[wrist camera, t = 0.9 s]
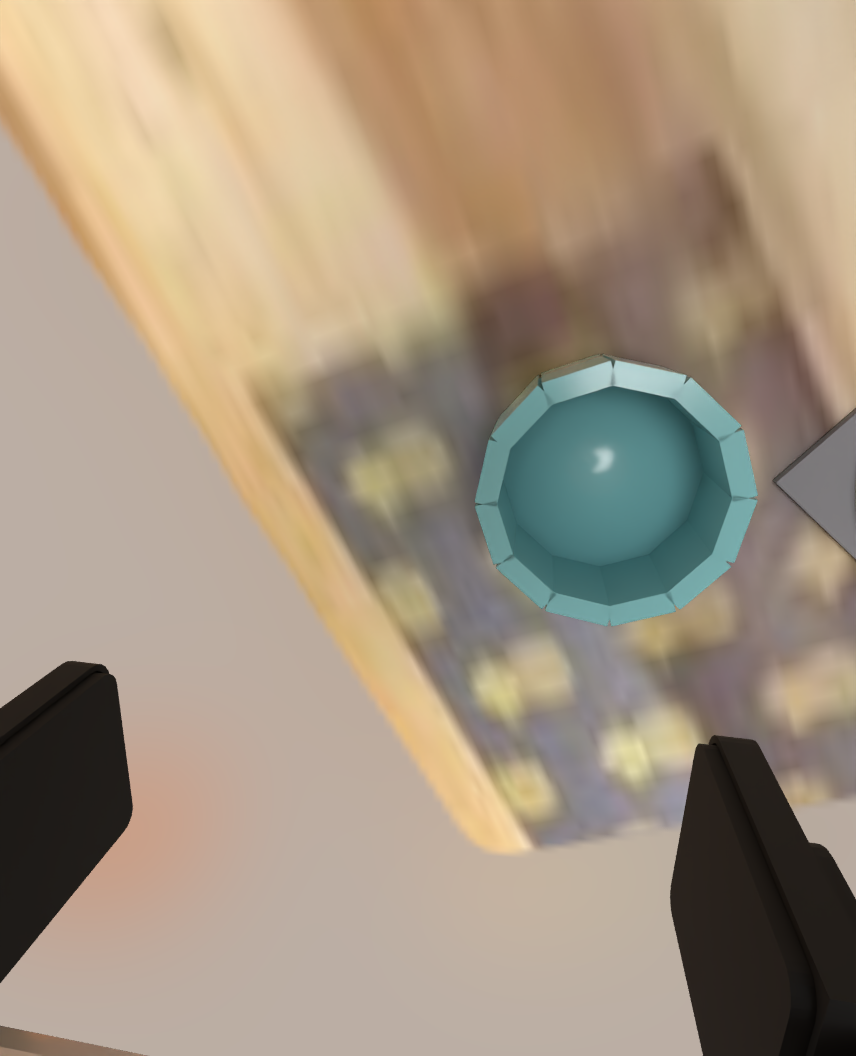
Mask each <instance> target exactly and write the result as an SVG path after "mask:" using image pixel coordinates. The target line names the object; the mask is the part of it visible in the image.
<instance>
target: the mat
mask: <svg viewBox="0 0 856 1056" xmlns="http://www.w3.org/2000/svg"><path fill="white" fill-rule="evenodd" d="M773 481H774V482H775V483H776V484H777V485H778V486H779V487H780V488H781V489H782V490H783V491H784V492H785V493H786V494H787V495H788V496H790V497H791V498H792V499H793V500H794V501H795V502H796V503H797V504H798V505H799V506H800V507H801V508H802V509H803V510H804V511H805V512H806V513H807V514H808V515H809V516H810V517H811V518H813V519H814V520H815V521H816V522H817V523H818V524H819V525H820V526H821V527H822V528H823V529H824V530H825V531H826V532H827V533H828V534H829V535H830V536H831V537H832V538H833V539H834V540H836V541H837V542H838V543H839V544H840V545H841V546H842V547H843V548H844V549H845V550H846V551H847V552H848V553H849V554H850V555H851V556H852V557H853V558H854V559H855V560H856V505H855V487H856V409H855V410H853V411H852V412H851V413H850V414H849V415H848V416H847V417H845V418H844V419H843V420H842V421H841V422H840V423H838V424H837V425H836V426H835V427H834V428H833V429H832V430H830V431H829V432H828V433H827V434H826V435H825V436H823V437H822V438H821V439H820V440H819V441H818V442H817V443H815V444H814V445H813V446H812V447H811V448H810V449H808V450H807V451H806V452H805V453H804V454H803V455H802V456H800V457H799V458H798V459H797V460H796V461H795V462H793V463H792V464H791V465H790V466H789V467H788V468H787V469H785V470H784V471H783V472H782V473H781V474H780V475H778V476H777V477H776V478H775V479H774V480H773Z"/></svg>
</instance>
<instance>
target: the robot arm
mask: <svg viewBox="0 0 856 1056" xmlns="http://www.w3.org/2000/svg"><path fill="white" fill-rule="evenodd" d="M132 810H133V805H132V796H131V789H130V781H129V773H128V766H127V758H126V750H125V743H124V735H123V727H122V720H121V712H120V704H119V696H118V689H117V682H116V679H115V677H114V676H113V675H111V674H109V671H108V670H107V668H106V667H105V666H103V665H102V664H93V663H85V662H76V661H67V662H65V663H63V664H61V665H60V666H59V667H57V668H56V669H55V670H53V671H52V672H50V673H49V674H47V675H46V676H45V677H43V678H42V679H40V680H39V681H38V682H36V683H35V684H34V685H32V686H31V687H29V688H28V689H27V690H25V691H24V692H22V693H21V694H20V695H18V696H17V697H15V698H14V699H13V700H11V701H10V702H9V703H7V704H6V705H4V706H3V707H2V708H0V983H1V982H2V980H3V979H4V978H5V977H6V976H7V974H8V973H9V972H10V971H11V969H12V968H13V967H14V966H15V965H16V963H17V962H18V961H19V960H20V958H21V957H22V956H23V955H24V953H25V952H26V951H27V950H28V949H29V947H30V946H31V945H32V943H33V942H34V941H35V940H36V939H37V938H38V936H39V935H40V934H41V933H42V931H43V930H44V929H45V928H46V926H47V925H48V924H49V922H51V920H52V919H53V918H54V917H55V915H56V914H57V913H58V912H59V911H60V909H61V908H62V907H63V906H64V904H65V903H66V902H67V901H68V899H69V898H70V897H71V896H72V895H73V893H74V892H75V891H76V890H77V888H78V887H79V886H80V885H81V883H82V882H83V881H84V880H85V879H86V877H87V876H88V875H89V874H90V872H91V871H92V870H93V869H94V868H95V866H96V865H97V864H98V863H99V861H100V860H101V859H102V858H103V857H104V855H105V854H106V852H108V850H109V849H110V848H111V847H112V845H113V844H114V843H115V842H116V841H117V839H118V838H119V837H120V836H121V834H122V833H123V832H124V831H125V829H126V828H127V826H128V824H129V821H130V819H131V816H132ZM670 900H671V912H672V917H673V922H674V926H675V931H676V935H677V940H678V944H679V949H680V953H681V957H682V962H683V967H684V971H685V976H686V980H687V985H688V989H689V994H690V998H691V1002H692V1007H693V1012H694V1016H695V1021H696V1025H697V1030H698V1034H699V1039H700V1043H701V1048H702V1052H703V1056H856V899H855V897H854V895H853V893H852V892H851V890H850V888H849V886H848V884H847V882H846V881H845V879H844V877H843V875H842V873H841V871H840V870H839V868H838V866H837V864H836V862H835V860H834V859H833V857H832V856H831V854H830V853H829V851H828V850H827V849H826V848H825V847H823V846H822V845H820V844H816V843H809V842H808V840H807V838H806V836H805V834H804V832H803V830H802V828H801V826H800V824H799V822H798V821H797V819H796V817H795V815H794V813H793V811H792V809H791V807H790V805H789V803H788V801H787V799H786V797H785V795H784V793H783V791H782V790H781V788H780V786H779V784H778V782H777V780H776V778H775V776H774V774H773V772H772V770H771V768H770V766H769V764H768V762H767V760H766V758H765V757H764V755H763V753H762V751H761V749H760V747H759V745H758V744H757V742H756V741H754V740H751V739H742V738H733V737H725V736H716V735H714V736H712V737H711V739H710V741H709V745H707V744H698V745H697V747H696V750H695V754H694V760H693V766H692V771H691V777H690V782H689V788H688V793H687V799H686V805H685V810H684V816H683V821H682V827H681V832H680V838H679V844H678V849H677V855H676V861H675V866H674V872H673V878H672V883H671V891H670ZM0 1056H147V1055H142V1054H137V1053H132V1052H128V1051H123V1050H117V1049H112V1048H108V1047H103V1046H98V1045H93V1044H89V1043H83V1042H79V1041H74V1040H69V1039H64V1038H59V1037H54V1036H49V1035H44V1034H39V1033H34V1032H29V1031H24V1030H19V1029H14V1028H9V1027H4V1026H0Z"/></svg>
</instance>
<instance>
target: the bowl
mask: <svg viewBox="0 0 856 1056" xmlns="http://www.w3.org/2000/svg"><path fill="white" fill-rule="evenodd" d="M541 376H542V377H540V376H539V375H537V376H536V378H535V379H534V380H533V381H532V382H531V383H530V384H529V385H528V386H527V387H526V388H525V389H524V391H523V392H522V393H521V394H520V395H519V396H518V397H517V398H516V399H515V400H514V401H513V402H512V404H511V405H510V406H509V407H508V408H507V409H506V410H505V411H504V412H503V413H502V414H501V415H500V417H499V418H498V420H497V422H496V424H495V427H494V429H493V431H492V434H491V436H490V438H489V441H488V445H487V450H486V454H485V459H484V463H483V467H482V472H481V476H480V481H479V485H478V489H477V494H476V498H475V502H476V504H475V509H476V512H477V515H478V518H479V521H480V524H481V527H482V530H483V533H484V536H485V539H486V543H487V546H488V549H489V552H490V555H491V558H492V561H493V564H497V565H496V569H498V570H499V571H500V572H501V573H502V574H503V575H504V576H505V577H506V578H508V579H509V580H510V581H511V582H512V583H513V584H514V585H515V586H516V587H518V588H519V589H520V590H521V591H522V592H523V593H524V594H525V595H527V596H528V597H529V598H530V599H531V600H532V601H533V602H534V603H535V604H537V605H538V606H539V607H540V608H541V609H542V608H543V607H544V606H545V611H547V612H551V613H555V614H559V615H564V616H568V617H572V618H576V619H580V620H584V621H588V622H592V623H596V624H600V625H604V626H607V625H608V622H609V619H610V622H611V626H615V625H620V624H624V623H628V622H633V621H637V620H642V619H646V618H650V617H655V616H659V615H664V614H668V613H672V612H676V610H675V606H677V607H678V608H679V609H681V608H683V607H684V606H685V605H686V604H687V603H689V602H690V601H691V600H692V599H693V598H695V597H696V596H697V595H698V594H699V593H701V592H702V591H703V590H704V589H705V588H707V587H708V586H709V585H710V584H711V583H713V582H714V581H715V580H716V579H717V578H718V577H720V576H721V575H722V574H723V573H724V572H726V571H727V570H728V569H729V568H730V567H731V566H730V564H729V563H728V562H732V563H734V562H735V559H736V557H737V554H738V551H739V549H740V546H741V543H742V541H743V538H744V535H745V533H746V530H747V527H748V525H749V522H750V519H751V517H752V514H753V511H754V509H755V506H756V503H757V501H758V500H757V499H755V498H754V497H755V496H758V494H757V489H756V484H755V480H754V475H753V471H752V466H751V461H750V457H749V452H748V448H747V443H746V438H745V434H744V430H743V429H741V428H740V427H741V425H740V424H739V423H738V422H737V421H736V420H735V419H734V418H733V417H732V416H731V415H730V414H729V413H727V412H726V411H725V410H724V409H723V408H722V407H721V406H720V405H719V404H718V403H717V402H716V401H715V400H714V399H713V398H712V397H711V396H710V395H709V394H708V393H707V392H706V391H705V390H704V389H703V388H701V387H700V386H699V385H698V384H697V383H696V382H695V381H694V380H693V379H692V378H691V377H688V376H687V375H685V374H682V373H679V372H676V371H674V370H671V369H668V368H665V367H662V366H659V365H654V364H649V363H644V362H639V361H635V360H630V359H625V358H620V357H616V356H611V355H606V354H602V356H601V355H599V354H597V355H594V356H591V357H588V358H585V359H582V360H579V361H576V362H572V363H569V364H566V365H563V366H560V367H557V368H554V369H551V370H548V371H545V372H542V373H541ZM727 561H728V562H727ZM674 605H675V606H674Z"/></svg>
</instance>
